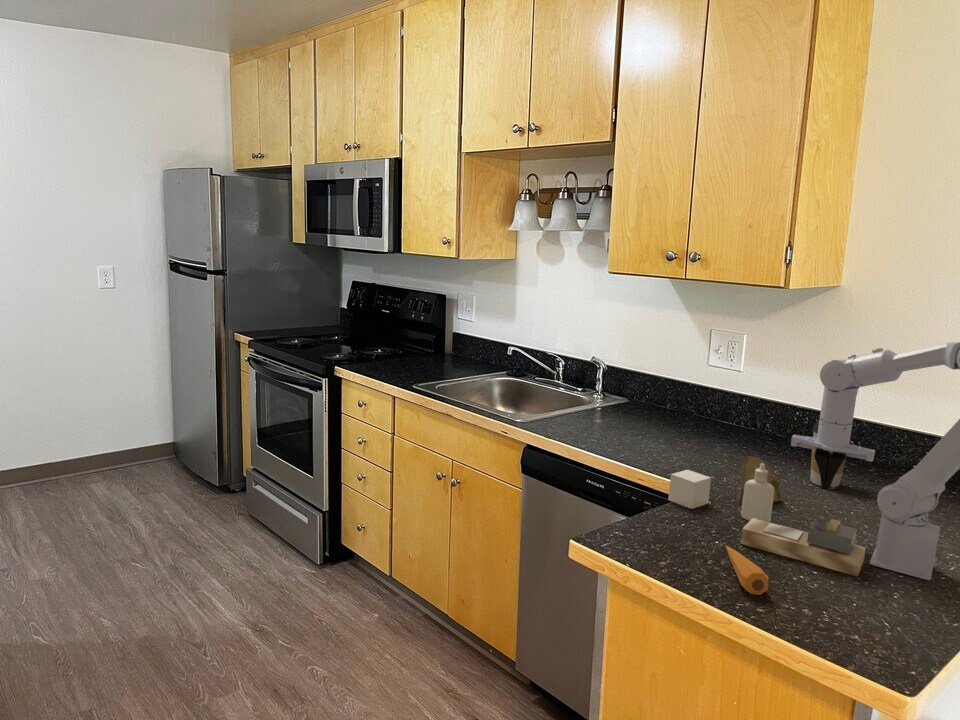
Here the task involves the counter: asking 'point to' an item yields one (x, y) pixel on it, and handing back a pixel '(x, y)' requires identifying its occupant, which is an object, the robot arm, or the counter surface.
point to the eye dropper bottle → (758, 497)
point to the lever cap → (832, 535)
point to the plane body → (800, 546)
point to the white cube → (689, 489)
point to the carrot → (748, 573)
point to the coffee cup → (815, 470)
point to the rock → (749, 474)
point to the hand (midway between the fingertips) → (825, 488)
